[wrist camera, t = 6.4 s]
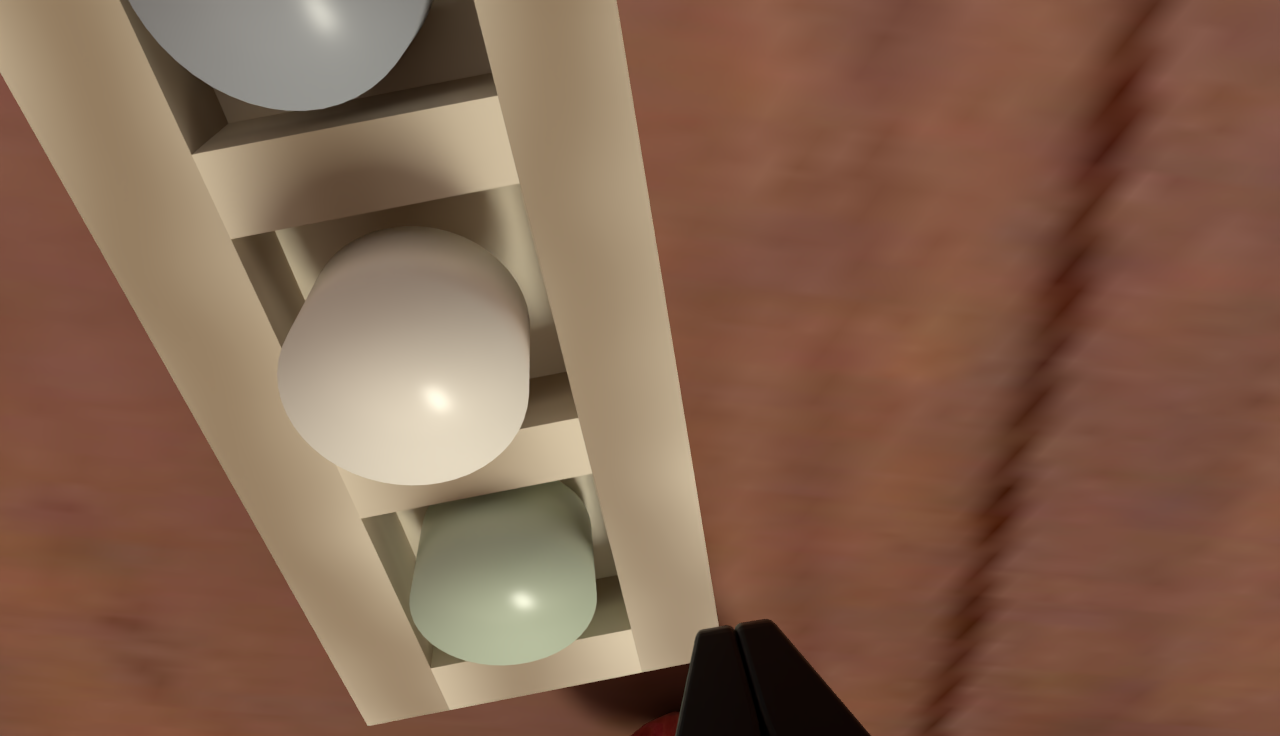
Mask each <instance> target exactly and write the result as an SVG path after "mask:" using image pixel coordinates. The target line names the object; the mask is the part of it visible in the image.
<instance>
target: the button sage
mask: <svg viewBox="0 0 1280 736" xmlns="http://www.w3.org/2000/svg"><path fill="white" fill-rule="evenodd" d="M596 604H597V592H596V579H595V566H594V554H593V541H592V528H591V521H590V517H589V514H588V511H587V509H586V507H585V505H584V504H583V502H582V501H581V499H580V498H579V497H578V496H577V495H576V494H575V493H574V492H573V491H572V490H571V489H570V488H569V487H567V486H566V485H565V484H563V483H562V482H560V481H558V480H557V481H552V482H547V483H542V484H536V485H531V486H526V487H521V488H516V489H511V490H506V491H500V492H495V493H490V494H485V495H480V496H475V497H470V498H464V499H459V500H454V501H449V502H444V503H439V504H434V505H430V506H429V507H428V509H427V511H426V513H425V516H424V519H423V524H422V529H421V535H420V540H419V546H418V552H417V557H416V563H415V569H414V574H413V580H412V586H411V592H410V602H409V605H410V612H411V615H412V618H413V621H414V623H415V625H416V627H417V628H418V630H419V631H420V632H421V634H422V635H423V636H424V637H425V638H426V639H427V640H428V641H429V642H430V643H431V644H433V645H434V646H435V647H437V648H438V649H440V650H442V651H443V652H445V653H447V654H449V655H451V656H454V657H456V658H459V659H462V660H465V661H469V662H473V663H478V664H486V665H516V664H523V663H528V662H532V661H536V660H540V659H543V658H545V657H548V656H550V655H553V654H555V653H557V652H559V651H561V650H562V649H564V648H566V647H567V646H569V645H570V644H571V643H573V642H574V641H575V640H576V639H577V638H578V637H579V636H580V635H581V634H582V633H583V632H584V631H585V630H586V628H587V627H588V625H589V624H590V622H591V620H592V618H593V615H594V613H595V609H596Z"/></svg>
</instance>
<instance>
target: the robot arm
mask: <svg viewBox="0 0 1280 736" xmlns="http://www.w3.org/2000/svg"><path fill="white" fill-rule="evenodd" d="M675 736H871V735H870V734H869V733H868V732H867V731H866V729H865V728H864V727H863V726H862V725H861V724H860V722H859V721H858V720H857V719H856V718H855V717H854V715H853V714H852V713H851V712H850V711H849V710H848V708H847V707H846V706H845V705H844V704H843V702H842V701H841V700H840V699H839V698H838V697H837V695H836V694H835V693H834V692H833V691H832V690H831V688H830V687H829V686H828V685H827V684H826V683H825V681H824V680H823V679H822V678H821V677H820V675H819V674H818V673H817V672H816V671H815V670H814V668H813V667H812V666H811V665H810V664H809V663H808V661H807V660H806V659H805V658H804V657H803V656H802V654H801V653H800V652H799V651H798V650H797V648H796V647H795V646H794V645H793V644H792V643H791V641H790V640H789V639H788V638H787V637H786V636H785V634H784V633H783V632H782V631H781V630H780V629H779V627H778V626H777V625H776V624H775V623H774V622H773V621H771V620H769V619H762V620H756V621H750V622H743V623H739V624H738V625H737V626H736V627H735V630H734V629H733V628H732V627H731V626H728V625H725V626H719V627H713V628H707V629H702V630H700V631H698V633H697V634H696V637H695V641H694V646H693V651H692V656H691V661H690V665H689V670H688V675H687V680H686V685H685V690H684V695H683V699H682V704H681V709H680V714H679V719H678V724H677V729H676V734H675Z"/></svg>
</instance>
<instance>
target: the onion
mask: <svg viewBox="0 0 1280 736" xmlns="http://www.w3.org/2000/svg"><path fill="white" fill-rule="evenodd" d="M679 714H680V712H678V711H676V712H670V713H668V714H666V715H663V716H661V717H659V718H657V719H655V720H652V721H651V722H649V723H647V724H645V725H643V726H642V727H641V728H640V729H638V730H637V731H636V732H635V733H634V734H632V735H631V736H675V734H676V729H677V724H678V719H679Z"/></svg>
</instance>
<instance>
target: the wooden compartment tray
mask: <svg viewBox="0 0 1280 736" xmlns="http://www.w3.org/2000/svg"><path fill="white" fill-rule="evenodd" d="M0 73H1V74H2V76H3V78H4V80H5V81H6V83H7V85H8V87H9V89H10V90H11V92H12V94H13V96H14V97H15V99H16V101H17V103H18V105H19V106H20V108H21V110H22V112H23V113H24V115H25V117H26V119H27V121H28V122H29V124H30V126H31V128H32V129H33V131H34V133H35V135H36V137H37V138H38V140H39V142H40V144H41V145H42V147H43V149H44V151H45V153H46V154H47V156H48V158H49V160H50V162H51V163H52V165H53V167H54V169H55V170H56V172H57V174H58V176H59V178H60V179H61V181H62V183H63V185H64V186H65V188H66V190H67V192H68V194H69V195H70V197H71V199H72V201H73V202H74V204H75V206H76V208H77V210H78V211H79V213H80V215H81V217H82V218H83V220H84V222H85V224H86V226H87V227H88V229H89V231H90V233H91V234H92V236H93V238H94V240H95V242H96V243H97V245H98V247H99V249H100V250H101V252H102V254H103V256H104V258H105V259H106V261H107V263H108V265H109V266H110V268H111V270H112V272H113V274H114V275H115V277H116V279H117V281H118V282H119V284H120V286H121V288H122V290H123V291H124V293H125V295H126V297H127V298H128V300H129V302H130V304H131V306H132V307H133V309H134V311H135V313H136V314H137V316H138V318H139V320H140V322H141V323H142V325H143V327H144V329H145V330H146V332H147V334H148V336H149V338H150V339H151V341H152V343H153V345H154V346H155V348H156V350H157V352H158V354H159V355H160V357H161V359H162V361H163V362H164V364H165V366H166V368H167V370H168V371H169V373H170V375H171V377H172V378H173V380H174V382H175V384H176V386H177V387H178V389H179V391H180V393H181V394H182V396H183V398H184V400H185V402H186V403H187V405H188V407H189V409H190V410H191V412H192V414H193V416H194V418H195V419H196V421H197V423H198V425H199V426H200V428H201V430H202V432H203V434H204V435H205V437H206V439H207V441H208V442H209V444H210V446H211V448H212V450H213V451H214V453H215V455H216V457H217V458H218V460H219V462H220V464H221V466H222V467H223V469H224V471H225V473H226V474H227V476H228V478H229V480H230V482H231V483H232V485H233V487H234V489H235V490H236V492H237V494H238V496H239V498H240V499H241V501H242V503H243V505H244V506H245V508H246V510H247V512H248V514H249V515H250V517H251V519H252V521H253V522H254V524H255V526H256V528H257V530H258V531H259V533H260V535H261V537H262V538H263V540H264V542H265V544H266V546H267V547H268V549H269V551H270V553H271V554H272V556H273V558H274V560H275V562H276V563H277V565H278V567H279V569H280V571H281V572H282V574H283V576H284V578H285V579H286V581H287V583H288V585H289V587H290V588H291V590H292V592H293V594H294V595H295V597H296V599H297V601H298V603H299V604H300V606H301V608H302V610H303V611H304V613H305V615H306V617H307V619H308V620H309V622H310V624H311V626H312V627H313V629H314V631H315V633H316V635H317V636H318V638H319V640H320V642H321V643H322V645H323V647H324V649H325V651H326V652H327V654H328V656H329V658H330V659H331V661H332V663H333V665H334V667H335V668H336V670H337V672H338V674H339V675H340V677H341V679H342V681H343V683H344V684H345V686H346V688H347V690H348V691H349V693H350V695H351V697H352V699H353V700H354V702H355V704H356V706H357V707H358V709H359V711H360V713H361V715H362V716H363V718H364V720H365V722H366V723H367V725H368V726H370V725H376V724H381V723H386V722H391V721H396V720H401V719H406V718H411V717H416V716H422V715H427V714H432V713H437V712H442V711H447V710H452V709H457V708H463V707H468V706H473V705H478V704H483V703H488V702H493V701H498V700H503V699H509V698H514V697H519V696H524V695H529V694H534V693H539V692H544V691H550V690H555V689H560V688H565V687H570V686H575V685H580V684H585V683H591V682H596V681H601V680H606V679H611V678H616V677H621V676H626V675H631V674H637V673H642V672H647V671H652V670H657V669H662V668H667V667H672V666H678V665H683V664H688V663H690V661H691V656H692V651H693V646H694V641H695V637H696V634H697V633H698V631H700V630H702V629H707V628H713V627H719V624H718V618H717V612H716V606H715V600H714V594H713V587H712V581H711V575H710V569H709V563H708V557H707V551H706V545H705V539H704V532H703V526H702V520H701V514H700V508H699V502H698V496H697V490H696V484H695V477H694V471H693V465H692V459H691V453H690V447H689V441H688V435H687V429H686V422H685V416H684V410H683V404H682V398H681V392H680V386H679V380H678V374H677V367H676V361H675V355H674V349H673V343H672V337H671V331H670V325H669V319H668V312H667V306H666V300H665V294H664V288H663V282H662V276H661V270H660V264H659V257H658V251H657V245H656V239H655V233H654V227H653V221H652V215H651V209H650V202H649V196H648V190H647V184H646V178H645V172H644V166H643V160H642V153H641V147H640V141H639V135H638V129H637V123H636V117H635V111H634V105H633V98H632V92H631V86H630V80H629V74H628V68H627V62H626V56H625V50H624V43H623V37H622V31H621V25H620V19H619V13H618V7H617V1H616V0H433V2H432V5H431V9H430V11H429V13H428V15H427V17H426V20H425V22H424V24H423V25H422V27H421V28H420V30H419V32H418V33H417V35H416V36H415V38H414V39H413V40H412V42H411V43H410V45H409V46H408V48H407V49H406V50H405V52H404V53H403V55H402V56H401V58H400V59H399V60H398V62H397V63H396V64H395V66H394V67H393V68H392V69H391V70H390V71H389V72H388V74H387V75H386V76H385V77H384V78H383V79H382V80H380V81H379V82H378V83H377V84H376V85H374V86H373V87H372V88H371V89H369V90H367V91H366V92H364V93H363V94H361V95H359V96H358V97H356V98H354V99H351V100H349V101H346V102H344V103H342V104H339V105H335V106H331V107H328V108H324V109H316V110H308V111H286V110H278V109H271V108H266V107H262V106H258V105H254V104H250V103H247V102H244V101H242V100H239V99H237V98H234V97H231V96H229V95H227V94H225V93H223V92H221V91H219V90H217V89H215V88H213V87H211V86H210V85H208V84H207V83H205V82H204V81H202V80H201V79H199V78H198V77H196V76H195V75H193V74H192V73H191V72H189V71H188V70H187V69H186V68H184V67H183V66H182V65H181V64H179V63H178V62H177V61H176V60H175V59H174V58H173V57H172V56H171V55H170V54H169V53H168V52H167V51H166V50H165V49H164V48H163V47H162V46H161V45H160V44H159V43H158V42H157V41H156V39H155V38H154V37H153V36H152V35H151V33H150V32H149V31H148V30H147V28H146V27H145V26H144V24H143V23H142V21H141V20H140V18H139V17H138V15H137V14H136V12H135V11H134V9H133V8H132V6H131V4H130V2H129V0H0ZM400 226H422V227H431V228H436V229H441V230H445V231H449V232H452V233H454V234H457V235H460V236H463V237H465V238H467V239H469V240H471V241H473V242H475V243H477V244H478V245H480V246H481V247H483V248H484V249H486V250H487V251H489V252H490V253H491V254H492V255H493V256H495V257H496V258H497V259H498V260H499V261H500V262H501V263H502V264H503V265H504V266H505V267H506V268H507V269H508V270H509V272H510V273H511V274H512V276H513V277H514V279H515V280H516V282H517V283H518V285H519V287H520V289H521V291H522V293H523V295H524V298H525V301H526V304H527V307H528V312H529V317H530V370H529V399H528V407H527V411H526V414H525V418H524V420H523V423H522V425H521V427H520V429H519V431H518V433H517V434H516V436H515V437H514V439H513V440H512V442H511V443H510V444H509V445H508V446H507V448H506V449H505V450H504V451H503V452H502V453H501V454H500V455H499V456H497V457H496V458H495V459H494V460H493V461H491V462H490V463H488V464H487V465H485V466H484V467H482V468H480V469H478V470H476V471H475V472H473V473H471V474H468V475H466V476H463V477H460V478H458V479H455V480H451V481H447V482H443V483H436V484H429V485H396V484H390V483H383V482H379V481H375V480H371V479H367V478H364V477H361V476H359V475H356V474H353V473H351V472H349V471H347V470H345V469H343V468H341V467H339V466H337V465H335V464H334V463H332V462H331V461H329V460H327V459H326V458H324V457H323V456H322V455H321V454H319V453H318V452H317V451H316V450H314V449H313V448H312V447H311V446H310V445H309V444H308V443H307V442H306V441H305V440H304V439H303V438H302V437H301V435H300V434H299V433H298V431H297V430H296V429H295V427H294V426H293V424H292V423H291V421H290V419H289V417H288V416H287V414H286V411H285V409H284V406H283V404H282V401H281V398H280V393H279V389H278V379H277V370H278V360H279V356H280V352H281V349H282V346H283V343H284V341H285V339H286V337H287V335H288V333H289V331H290V329H291V327H292V325H293V323H294V322H295V320H296V318H297V316H298V314H299V312H300V310H301V308H302V306H303V305H304V303H305V301H306V299H307V297H308V295H309V293H310V291H311V290H312V288H313V286H314V284H315V282H316V280H317V278H318V276H319V274H320V273H321V271H322V270H323V268H324V267H325V265H326V264H327V263H328V262H329V260H330V259H331V258H332V257H333V256H334V255H335V254H336V253H337V252H338V251H340V250H341V249H342V248H343V247H345V246H346V245H347V244H349V243H351V242H352V241H354V240H356V239H358V238H359V237H362V236H364V235H367V234H369V233H371V232H374V231H378V230H382V229H386V228H392V227H400ZM557 480H558V481H560V482H562V483H563V484H565V485H566V486H567V487H569V488H570V489H571V490H572V491H573V492H574V493H575V494H576V495H577V496H578V497H579V498H580V499H581V501H582V502H583V504H584V505H585V507H586V509H587V511H588V514H589V517H590V521H591V528H592V541H593V554H594V566H595V579H596V592H597V604H596V609H595V613H594V615H593V618H592V620H591V622H590V624H589V625H588V627H587V628H586V630H585V631H584V632H583V633H582V634H581V635H580V636H579V637H578V638H577V639H576V640H575V641H574V642H573V643H571V644H570V645H569V646H567V647H566V648H564V649H562V650H561V651H559V652H557V653H555V654H553V655H550V656H548V657H545V658H543V659H540V660H536V661H532V662H528V663H523V664H516V665H486V664H478V663H473V662H469V661H465V660H462V659H459V658H456V657H454V656H451V655H449V654H447V653H445V652H443V651H442V650H440V649H438V648H437V647H435V646H434V645H433V644H431V643H430V642H429V641H428V640H427V639H426V638H425V637H424V636H423V635H422V634H421V632H420V631H419V630H418V628H417V627H416V625H415V623H414V621H413V618H412V615H411V612H410V605H409V602H410V592H411V586H412V580H413V574H414V569H415V563H416V557H417V552H418V546H419V540H420V535H421V529H422V524H423V519H424V516H425V513H426V511H427V509H428V507H429V506H430V505H434V504H439V503H444V502H449V501H454V500H459V499H464V498H470V497H475V496H480V495H485V494H490V493H495V492H500V491H506V490H511V489H516V488H521V487H526V486H531V485H536V484H542V483H547V482H552V481H557Z"/></svg>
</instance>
